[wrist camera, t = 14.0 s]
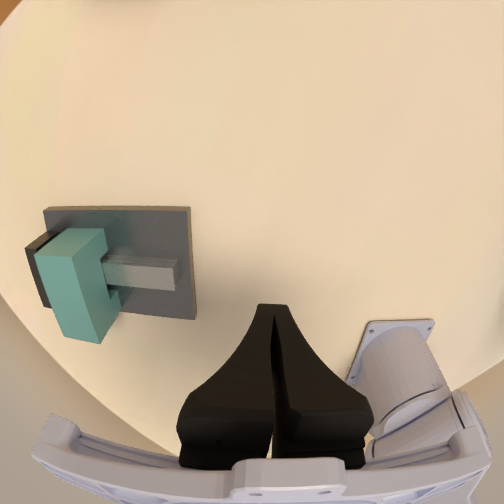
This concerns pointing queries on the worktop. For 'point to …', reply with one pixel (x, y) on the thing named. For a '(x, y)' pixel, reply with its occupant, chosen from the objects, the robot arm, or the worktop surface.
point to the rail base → (134, 255)
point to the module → (78, 283)
